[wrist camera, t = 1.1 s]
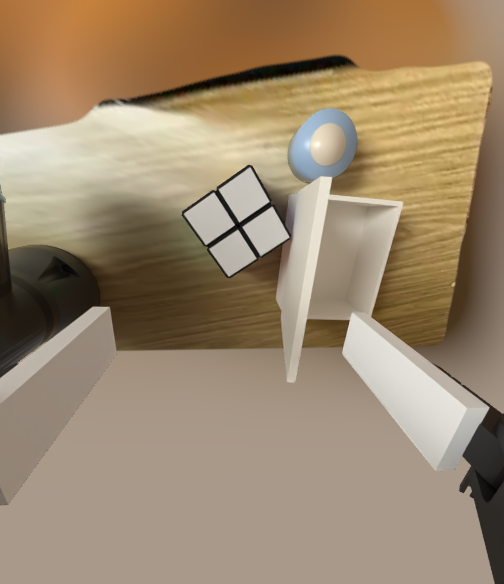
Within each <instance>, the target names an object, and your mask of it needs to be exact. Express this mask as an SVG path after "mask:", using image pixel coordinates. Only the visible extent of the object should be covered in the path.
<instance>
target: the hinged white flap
mask: <svg viewBox="0 0 504 584" xmlns="http://www.w3.org/2000/svg"><path fill="white" fill-rule="evenodd" d="M331 182H332V177H324V176H321V177H319V178H318V179H316V180H315V181H313V182H312V183H310V184H309V185H307V186H306V187H304V188H303V189H301V190H300V191H298V196H297V204H296V211H295V218H294V225H293V233H292V240H291V247H290V255H289V262H288V269H287V276H286V284H285V291H284V298H283V305H282V313H281V326H282V337H283V347H284V357H285V367H286V377H287V382H292V383H295V381H296V376H297V370H298V364H299V359H300V353H301V348H302V343H303V337H304V331H305V326H306V320H307V315H308V309H309V304H310V298H311V293H312V287H313V282H314V276H315V270H316V265H317V259H318V254H319V248H320V243H321V237H322V232H323V226H324V221H325V215H326V209H327V204H328V198H329V193H330V187H331Z"/></svg>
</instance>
